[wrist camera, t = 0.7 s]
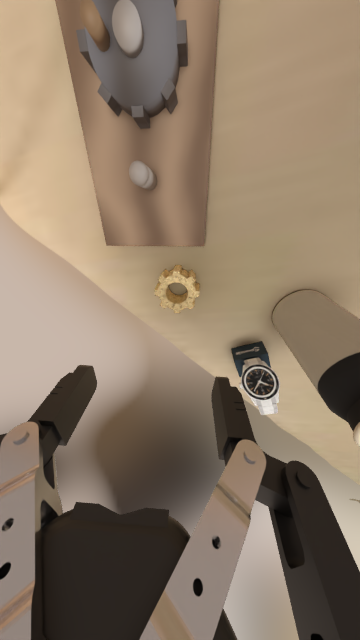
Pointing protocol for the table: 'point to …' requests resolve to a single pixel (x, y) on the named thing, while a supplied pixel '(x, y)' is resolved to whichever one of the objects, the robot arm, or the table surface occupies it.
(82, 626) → the robot arm
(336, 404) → the travel mug
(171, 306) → the brass gear
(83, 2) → the gear board
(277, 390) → the watch
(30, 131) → the table surface
